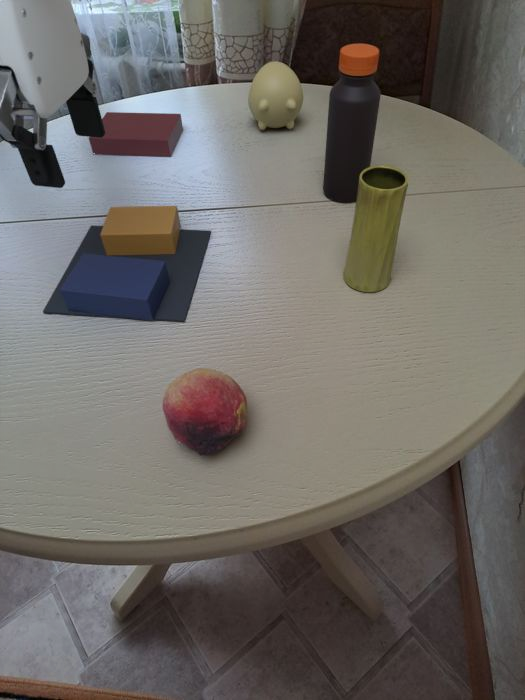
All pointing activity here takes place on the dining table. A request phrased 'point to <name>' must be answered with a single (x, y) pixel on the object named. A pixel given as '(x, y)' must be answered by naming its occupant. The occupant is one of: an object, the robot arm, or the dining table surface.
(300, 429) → the dining table surface
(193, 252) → the desk mat
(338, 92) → the bottle
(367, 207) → the vase
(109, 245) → the top book
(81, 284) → the middle book
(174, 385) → the fruit
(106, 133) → the bottom book
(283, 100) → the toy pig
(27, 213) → the dining table surface
